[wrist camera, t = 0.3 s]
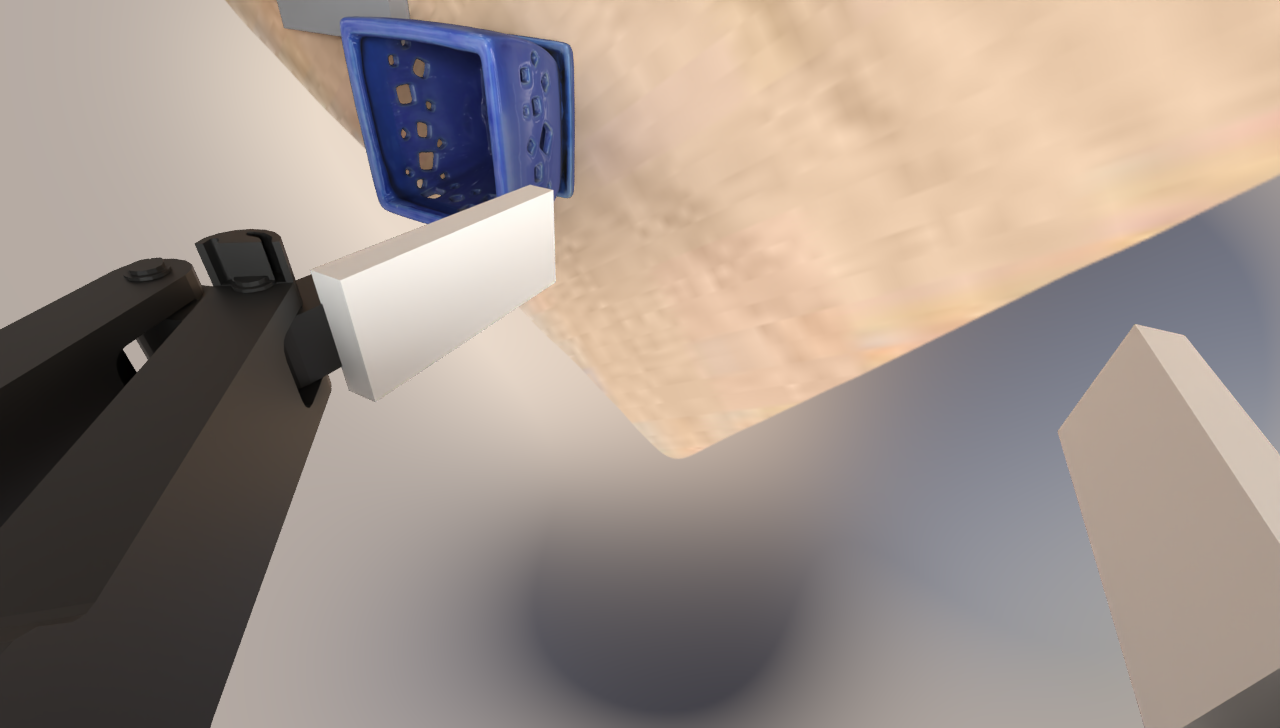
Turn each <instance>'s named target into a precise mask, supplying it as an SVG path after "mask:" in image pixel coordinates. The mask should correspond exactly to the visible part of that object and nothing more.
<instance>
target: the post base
mask: <svg viewBox="0 0 1280 728" xmlns="http://www.w3.org/2000/svg"><path fill="white" fill-rule="evenodd" d="M277 3H278V7H279V10H280V14H281V18H282V22H283V25H284V28H288V29H294V30H301V31H308V32H314V33H321V34H327V35H334V36H341V31H340V20H341V19H342V18H344V17H353V16H359V17H387V18H402V19H410V15H409V9H408V2H407V0H277ZM401 43H402V45H404V44H405V40H402V41H401Z"/></svg>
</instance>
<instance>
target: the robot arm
mask: <svg viewBox="0 0 1280 728" xmlns="http://www.w3.org/2000/svg"><path fill="white" fill-rule="evenodd" d="M195 246H196V248H197V250H198V253H199V255H200V257H201V259H202V262H203V264H204V266H205V268H206V270H207V272H208V275H209V277H210V279H211V281H212V284H213V286H204V285H201V283H200V281H199V279H198V277H197V275H196V272H195V270H194V268H193V266H192V264H190V263H189V262H187V261H185V260H178V259H162V258H151V259H144V260H139V261H137V262H134V263H132V264H130V265H127V266H124V267H122V268H119V269H117V270H114V271H112V272H110V273H108V274H107V275H104V276H102V277H100V278H99V279H97V280H95V281H93V282H91V283H89V284H87V285H85V286H83V287H82V288H79V289H77V290H75V291H74V292H72V293H70V294H68V295H66V296H64V297H62V298H60V299H58V300H56V301H54V302H52V303H50V304H48V305H46V306H45V307H43V308H41V309H39V310H37V311H35V312H33V313H31V314H29V315H27V316H25V317H23V318H22V319H20V320H18V321H16V322H14V323H12V324H10V325H8V326H6V327H4V328H2V329H0V728H210V727H211V723H212V720H213V717H214V714H215V712H216V709H217V706H218V703H219V701H220V698H221V695H222V692H223V689H224V687H225V684H226V681H227V678H228V676H229V673H230V670H231V667H232V665H233V662H234V659H235V656H236V653H237V650H238V648H239V645H240V642H241V639H242V637H243V634H244V631H245V628H246V626H247V623H248V620H249V617H250V615H251V612H252V609H253V606H254V603H255V601H256V598H257V595H258V592H259V590H260V587H261V584H262V581H263V579H264V575H265V573H266V570H267V568H268V565H269V562H270V559H271V556H272V553H273V551H274V548H275V545H276V542H277V540H278V537H279V534H280V532H281V529H282V526H283V523H284V520H285V518H286V515H287V512H288V509H289V507H290V504H291V501H292V498H293V495H294V493H295V490H296V487H297V484H298V482H299V478H300V476H301V473H302V470H303V468H304V465H305V462H306V459H307V457H308V454H309V451H310V448H311V445H312V443H313V440H314V437H315V434H316V432H317V429H318V426H319V423H320V421H321V418H322V415H323V412H324V410H325V407H326V404H327V401H328V398H329V395H330V393H331V382H330V379H329V376H328V374H329V373H331V372H333V371H335V370H336V369H338V368H340V367H342V370H343V373H344V376H345V380H346V383H347V386H348V389H349V391H352V392H354V393H356V394H358V395H361V396H363V397H365V398H367V399H369V400H372V401H374V402H377V401H378V400H380V399H381V398H382V397H384V396H385V395H387V394H389V393H390V392H392V391H393V390H395V389H396V388H398V387H399V386H400V385H402V384H404V383H405V382H407V381H408V380H409V379H411V378H412V377H414V376H416V375H417V374H419V373H420V372H422V371H423V370H425V369H426V368H428V367H429V366H431V365H432V364H433V363H435V362H437V361H438V360H440V359H441V358H443V357H444V356H446V355H447V354H449V353H450V352H452V351H453V350H454V349H456V348H458V347H459V346H461V345H462V344H463V343H465V342H467V341H468V340H470V339H471V338H473V337H474V336H476V335H477V334H479V333H480V332H482V331H483V330H485V329H486V328H488V327H489V326H490V325H492V324H494V323H495V322H496V321H498V320H500V319H501V318H503V317H504V316H505V315H507V314H509V313H510V312H512V311H513V310H514V309H516V308H518V307H519V306H521V305H522V304H524V303H525V302H527V301H528V300H530V299H531V298H533V297H534V296H536V295H537V294H539V293H540V292H542V291H543V290H545V289H546V288H548V287H549V286H551V285H552V284H554V283H555V282H556V273H555V235H554V197H553V190H551V189H546V188H542V187H538V186H533V185H528V186H525V187H523V188H520V189H518V190H515V191H513V192H510V193H507V194H505V195H502V196H500V197H497V198H494V199H492V200H489V201H487V202H484V203H481V204H479V205H476V206H474V207H471V208H469V209H466V210H463V211H461V212H458V213H456V214H453V215H450V216H448V217H445V218H443V219H440V220H438V221H435V222H432V223H430V224H427V225H425V226H422V227H420V228H417V229H414V230H412V231H409V232H407V233H404V234H401V235H399V236H396V237H394V238H391V239H389V240H386V241H383V242H381V243H379V244H376V245H373V246H371V247H368V248H365V249H363V250H360V251H357V252H355V253H352V254H350V255H347V256H345V257H342V258H339V259H337V260H334V261H332V262H329V263H327V264H324V265H321V266H319V267H316V268H313V269H311V270H310V271H311V275H309V276H306V277H304V278H301V279H298V280H295V277H294V275H293V272H292V269H291V266H290V263H289V260H288V257H287V254H286V251H285V248H284V245H283V242H282V240H281V237H280V236H279V235H278V234H276V233H275V232H272V231H267V230H258V229H257V230H256V229H246V230H234V231H229V232H223V233H218V234H215V235H212V236H209V237H206V238H204V239H202V240H200V241H198V242H197V243H195ZM135 339H136V340H137V342H138V343H139V345H140V347H141V349H142V350H143V352H144V354H145V355H146V357H147V359H148V361H147V362H146V363H145V364H144V365H143V366H142V368H141V369H140V370H139V371H138V372H136V371H135V369H134V367H133V366H132V364H131V362H130V361H129V359H128V357H127V356H126V354H125V352H124V351H123V348H124V347H125V346H126V345H128V344H129V343H131V342H132V341H134V340H135ZM1058 434H1059V438H1060V441H1061V444H1062V448H1063V451H1064V455H1065V458H1066V462H1067V465H1068V469H1069V472H1070V475H1071V479H1072V482H1073V486H1074V489H1075V492H1076V496H1077V499H1078V503H1079V506H1080V510H1081V513H1082V516H1083V520H1084V523H1085V527H1086V530H1087V533H1088V537H1089V540H1090V544H1091V547H1092V550H1093V554H1094V557H1095V560H1096V564H1097V567H1098V571H1099V574H1100V578H1101V581H1102V584H1103V588H1104V591H1105V594H1106V598H1107V601H1108V605H1109V608H1110V612H1111V615H1112V618H1113V622H1114V625H1115V628H1116V632H1117V635H1118V639H1119V642H1120V646H1121V649H1122V652H1123V656H1124V659H1125V663H1126V666H1127V670H1128V673H1129V676H1130V680H1131V683H1132V686H1133V690H1134V693H1135V697H1136V700H1137V704H1138V707H1139V710H1140V714H1141V717H1142V721H1143V724H1144V728H1280V455H1279V453H1278V452H1277V451H1276V450H1275V448H1274V447H1273V446H1272V445H1271V444H1270V442H1269V441H1268V440H1267V438H1266V437H1265V436H1264V435H1263V434H1262V432H1261V431H1260V430H1259V428H1258V427H1257V426H1256V425H1255V423H1254V422H1253V421H1252V420H1251V418H1250V417H1249V416H1248V414H1247V413H1246V412H1245V411H1244V409H1243V408H1242V407H1241V406H1240V404H1239V403H1238V402H1237V401H1236V400H1235V398H1234V397H1233V396H1232V394H1231V393H1230V392H1229V391H1228V389H1227V388H1226V387H1225V386H1224V384H1223V383H1222V382H1221V381H1220V379H1219V378H1218V377H1217V376H1216V374H1215V373H1214V372H1213V370H1212V369H1211V368H1210V367H1209V365H1208V364H1207V363H1206V362H1205V360H1204V359H1203V358H1202V357H1201V356H1200V354H1199V353H1198V352H1197V351H1196V349H1195V348H1194V347H1193V346H1192V344H1191V343H1190V342H1189V340H1188V339H1187V338H1186V337H1185V335H1180V334H1176V333H1172V332H1167V331H1163V330H1159V329H1154V328H1150V327H1145V326H1141V325H1137V324H1135V325H1134V326H1133V327H1132V329H1131V330H1130V331H1129V333H1128V334H1127V336H1126V337H1125V338H1124V340H1123V341H1122V343H1121V344H1120V345H1119V347H1118V348H1117V350H1116V351H1115V352H1114V354H1113V355H1112V356H1111V358H1110V360H1109V361H1108V362H1107V363H1106V365H1105V366H1104V368H1103V369H1102V370H1101V372H1100V373H1099V375H1098V376H1097V377H1096V379H1095V380H1094V381H1093V383H1092V384H1091V386H1090V387H1089V388H1088V390H1087V391H1086V393H1085V394H1084V395H1083V397H1082V398H1081V400H1080V401H1079V402H1078V404H1077V405H1076V407H1075V408H1074V410H1073V411H1072V412H1071V414H1070V415H1069V416H1068V418H1067V419H1066V420H1065V422H1064V423H1063V425H1062V426H1061V427H1060V429H1059V430H1058Z"/></svg>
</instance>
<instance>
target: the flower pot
mask: <svg viewBox="0 0 1280 728" xmlns="http://www.w3.org/2000/svg"><path fill="white" fill-rule="evenodd" d="M340 31H341V37H342V43H343V49H344V54H345V59H346V64H347V68H348V73H349V78H350V83H351V87H352V92H353V96H354V102H355V106H356V110H357V114H358V118H359V123H360V126H361V131H362V135H363V139H364V144H365V148H366V152H367V156H368V161H369V165H370V170H371V174H372V178H373V182H374V186H375V189H376V193H377V197H378V200H379V202H380V204H381V206H382V207H383V208H384V209H385V210H387V211H389V212H392V213H395V214H397V215H400V216H403V217H407V218H409V219H413V220H416V221H419V222H422V223H426V224H430V223H432V222H435V221H438V220H440V219H443V218H445V217H448V216H450V215H453V214H456V213H458V212H461V211H463V210H466V209H469V208H471V207H474V206H476V205H479V204H481V203H484V202H487V201H489V200H492V199H494V198H497V197H500V196H502V195H505V194H507V193H510V192H513V191H515V190H518V189H520V188H523V187H525V186H528V185H533V186H538V187H542V188H546V189H551V190H553V197H554V201H555V198H556V196H558V197H563V198H570V197H571V196H572V195H573V192H574V147H575V107H574V63H573V52H572V49H571V47H570V45H568V44H567V43H564V42H558V41H552V40H545V39H538V38H532V37H525V36H518V35H511V34H504V33H499V32H495V31H490V30H484V29H478V28H472V27H466V26H460V25H453V24H446V23H438V22H430V21H422V20H414V19H402V18H387V17H359V16H353V17H344V18H342V19H341V20H340ZM402 40H405V44H404V45H403V46H402V43H401V41H402ZM390 55H393V60H394V64H393V65H390V64H389V60H388V57H389V56H390ZM416 59H419V60H421V61H423V62H424V63H425V69H424V74H423V77H419V76H417V75H416V74H415V73H414V71H413V66H414V62H415V60H416ZM404 84H408V85H409V88H410V92H411V97H412V101H411V102H410V103H407V104H401V103H400V101H399V99H398V95H397V91H396V88H397V87H398V86H400V85H404ZM427 101H428V102H430V103H431V108H430V110H429V109H428V108H427V106H426V102H427ZM418 122H422V123H425V124H426V125H427V136H426V137H420V136H419V135H418V132H417V123H418ZM402 129H403V130H404V131H405V132H406V136H405V138H402V136H401V131H402ZM439 139H440V140H441V141H442V145H441V146H440V147H438V146H437V142H438V140H439ZM421 152H433V154H434V157H433V167H432V169H429V170H423V169H421V167H420V163H419V153H421ZM406 170H409V174H406ZM443 173H444V175H445V178H443V179H442V178H441V177H440V175H441V174H443ZM420 179H422V180H423V184H422V187H421V188H419V187H418V186H417V181H418V180H420ZM433 194H438V195H441V196H440V197H438V198H436V199H432V198H427V197H429V196H431V195H433Z"/></svg>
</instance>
